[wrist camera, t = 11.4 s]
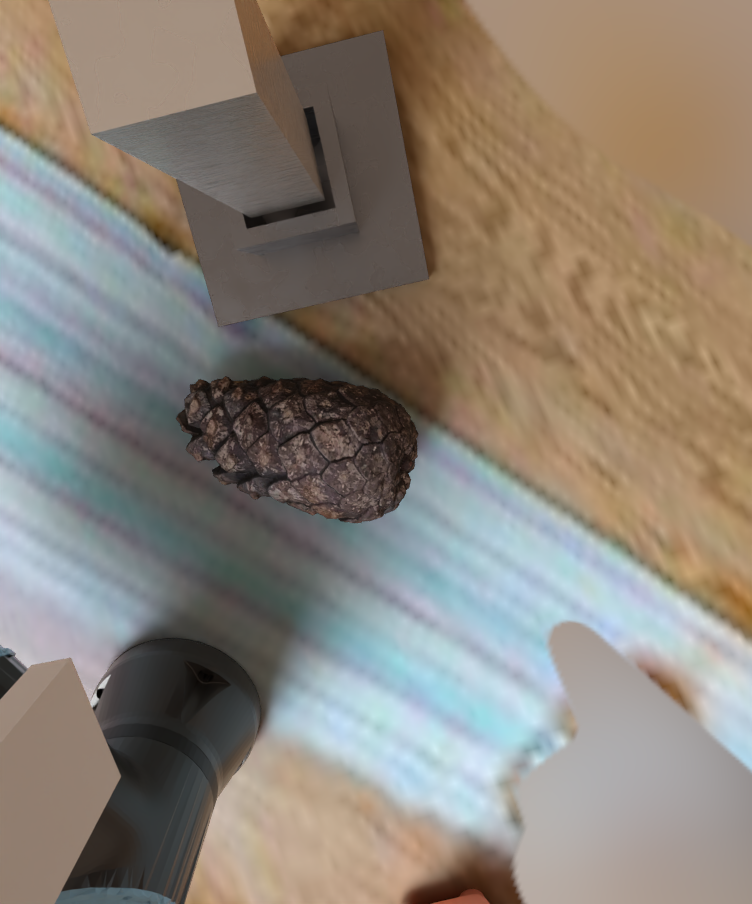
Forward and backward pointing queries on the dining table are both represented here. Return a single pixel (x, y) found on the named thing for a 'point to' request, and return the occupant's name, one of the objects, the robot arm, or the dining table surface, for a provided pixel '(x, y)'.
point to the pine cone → (305, 443)
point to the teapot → (467, 898)
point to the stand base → (326, 222)
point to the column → (194, 96)
